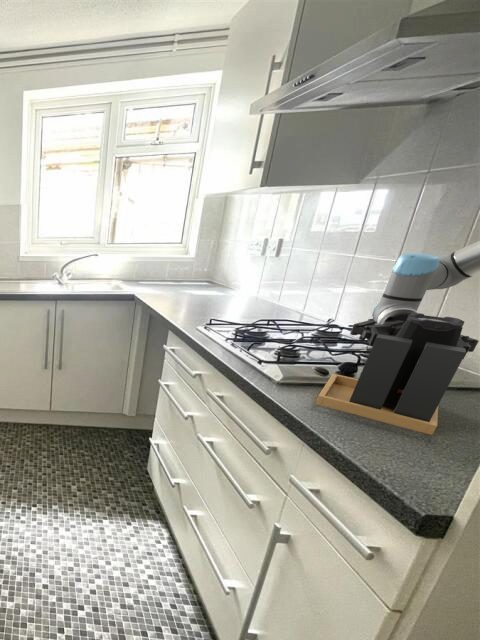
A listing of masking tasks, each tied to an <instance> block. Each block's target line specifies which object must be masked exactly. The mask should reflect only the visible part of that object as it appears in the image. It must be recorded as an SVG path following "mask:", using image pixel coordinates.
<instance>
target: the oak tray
mask: <svg viewBox="0 0 480 640" xmlns="http://www.w3.org/2000/svg"><path fill="white" fill-rule="evenodd" d="M358 380H359V378H355V377H350V376H345V375H341V374H337V373H332V375H331V376H330V378H329V379H328V381H327V382H326V384H325V385H324V386H323V388H322V389H321V391H320V393H319V394H318V396H317V398H316V401H315V405H318V406H320V407H321V406H322V407H325V408H329V409H333V410H337V411H341V412H345V413H348V414H351V415H355V416H360V417H363V418H367V419H369V420H374V421H378V422H381V423H385V424H388V425H393V426H396V427H400V428H404V429H407V430H411V431H415V432H419V433H422V434H426V435H430V436H433V435H434V433H435V431H436V429H437V427H438V421H439V419H438V418H439V417H438V416H439V406H438V407H437V409H436V410H435V412H434V414H433V416H432V418H431V420H430V422H426V421H422V420H419V419H415V418H411V417H407V416H403V415H399V414H395V413H393V412H394V410H395V408H396V407H392V406H389V405H385V404H384V405H383V406H382V408H381V410H379V409H375V408H372V407H368V406H364V405H360V404H356V403H352V402H349V401H350V398H351V396H352V394H353V391H354V389H355V387H356V384H357V382H358Z"/></svg>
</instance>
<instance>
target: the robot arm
mask: <svg viewBox="0 0 480 640" xmlns="http://www.w3.org/2000/svg"><path fill="white" fill-rule="evenodd" d="M479 274H480V240H478V241H476V242H472V243H471V244H468V245H466V246H464V247H461V248H460V249H457V250H455V251H453V252H451V253H448V254H446V255H444V256H441V257H439V256H438V255H435V254H428V253H410V252H409V253H408V252H407V253H404V254H401V255H400V256H399V257H398V259H397V261H396V263H395V264H394V266H393V267H392V271H391V274H390V276H389V279H388V281H387V284H386V285H385V289H384V291H383V294H382V295H381V297H380V300H379V302H378V303H377V304H376V305H375V306H374V308H373V309H372V318H368V319H367V320H365V321H360V322H357V323H353V325H352V328H351V330H350V333H349V335H350V336H358V335H359V337H358V340H360V341H367V342H368V345H369V346H370V347H373V344H374V342H375V340H376V337H377V336H378V334H381V335H387V336H393V337H396V335H397V334H398V332H399V331H400V329H401V328H402V326H403V324H404V323H405V321H407V318H408V316H409V314H412V313H419V312H418V309H419V307H420V305H421V303H422V301H423V298H424V297H425V294H426V292H427V291H432V290H444V289H448V288H451V287H454V286H457V285H460V284H461V283H462V282H463V281H465V280H467V279H470V278H472V277H474V276H476V275H479ZM479 342H480V340H478V339H476V338H473V337H470V336H469V335H464V334H461V335H460V338H459V341H458V344H457V347H459V348H465V349H466V354H465V356H464V358H463V359H462V360H465V357H466V356H467V354H468V353H473V352H474V351H475V349H476V347H477V346H478V343H479Z"/></svg>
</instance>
